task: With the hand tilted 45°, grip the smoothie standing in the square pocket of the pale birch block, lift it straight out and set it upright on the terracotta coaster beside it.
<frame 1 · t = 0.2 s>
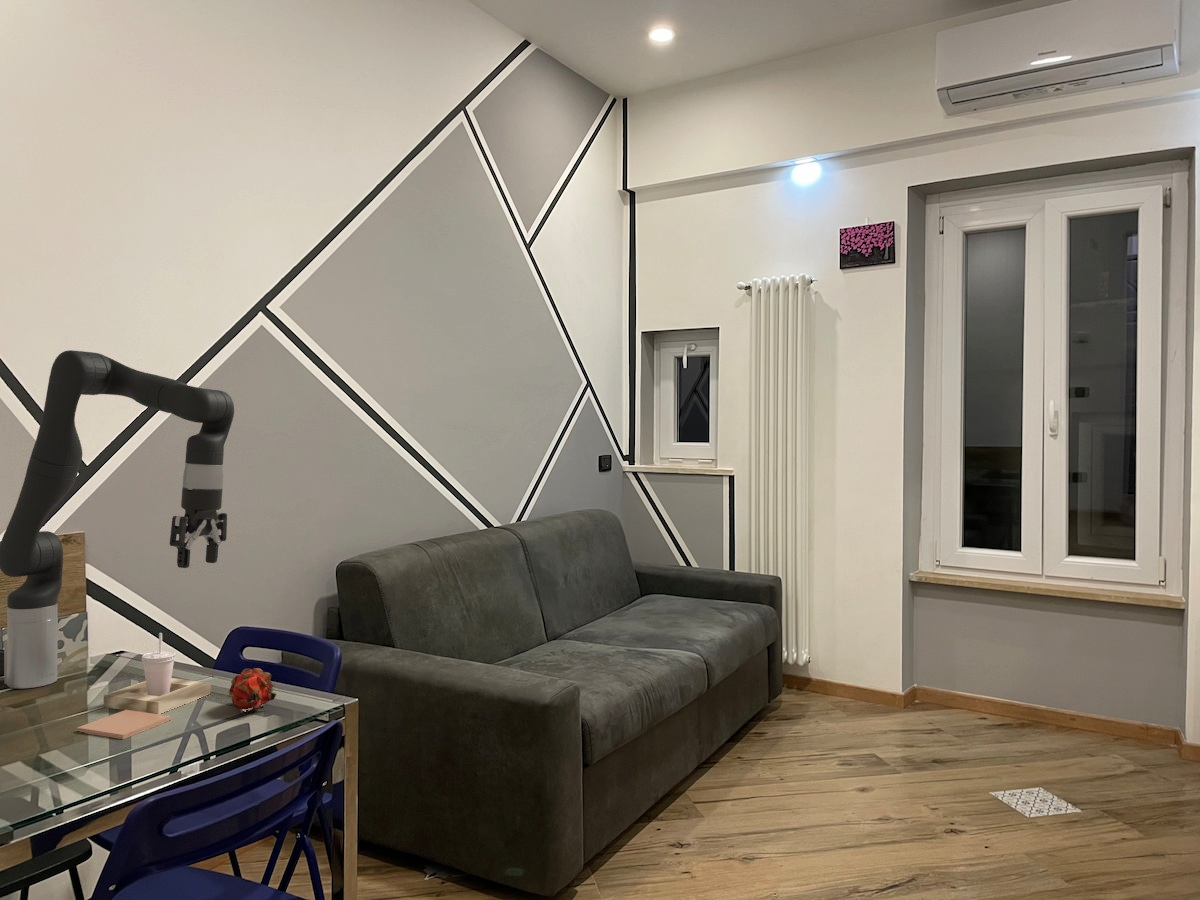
hand: (197, 565, 175), 29 cm above the table, tool pointing down, fingers open, 8 cm apart
smoothie: (158, 701, 178), resting in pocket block
coaster: (124, 725, 163), on the table
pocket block: (158, 700, 178), on the table
dragon fruit: (252, 709, 174), on the table
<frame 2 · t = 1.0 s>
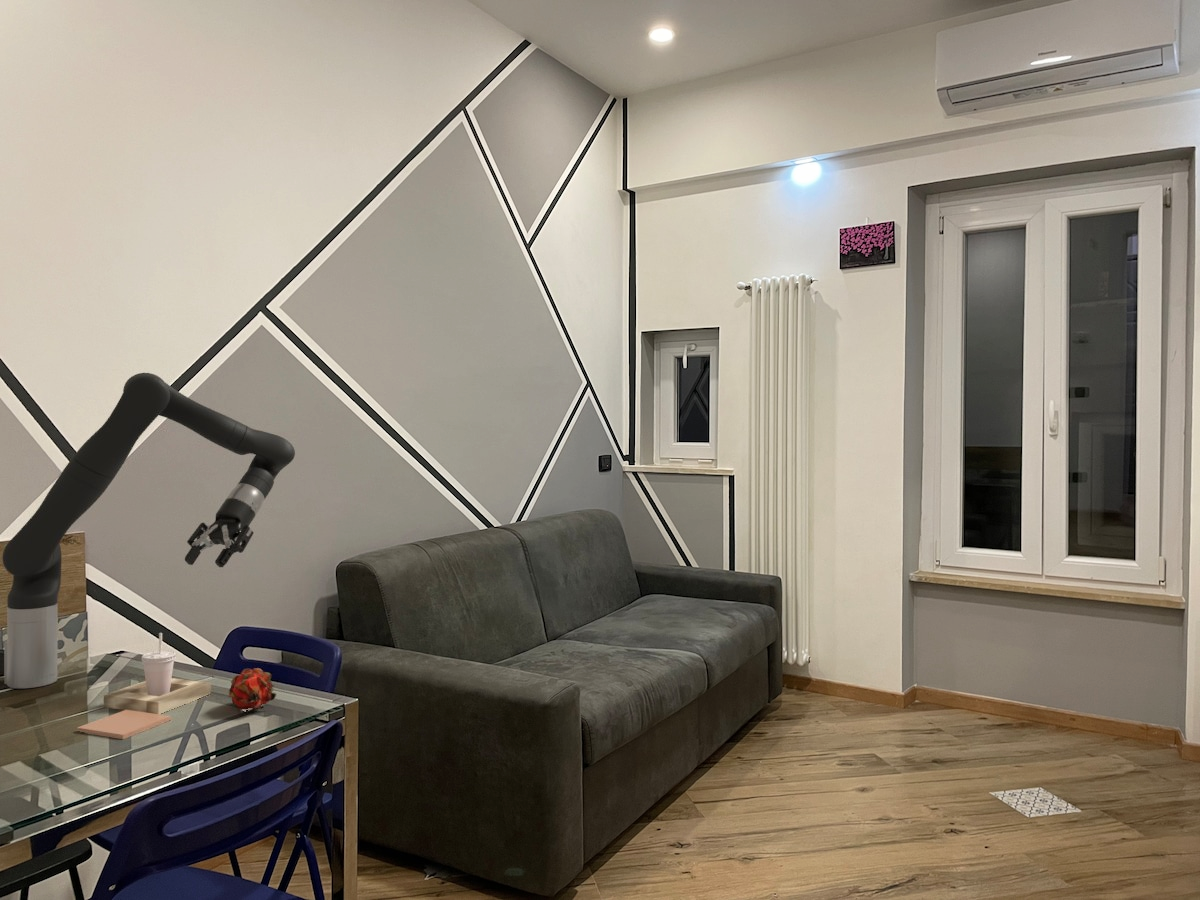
hand: (203, 564, 189), 27 cm above the table, tool tilted 45°, fingers open, 8 cm apart
nothing on the table moved.
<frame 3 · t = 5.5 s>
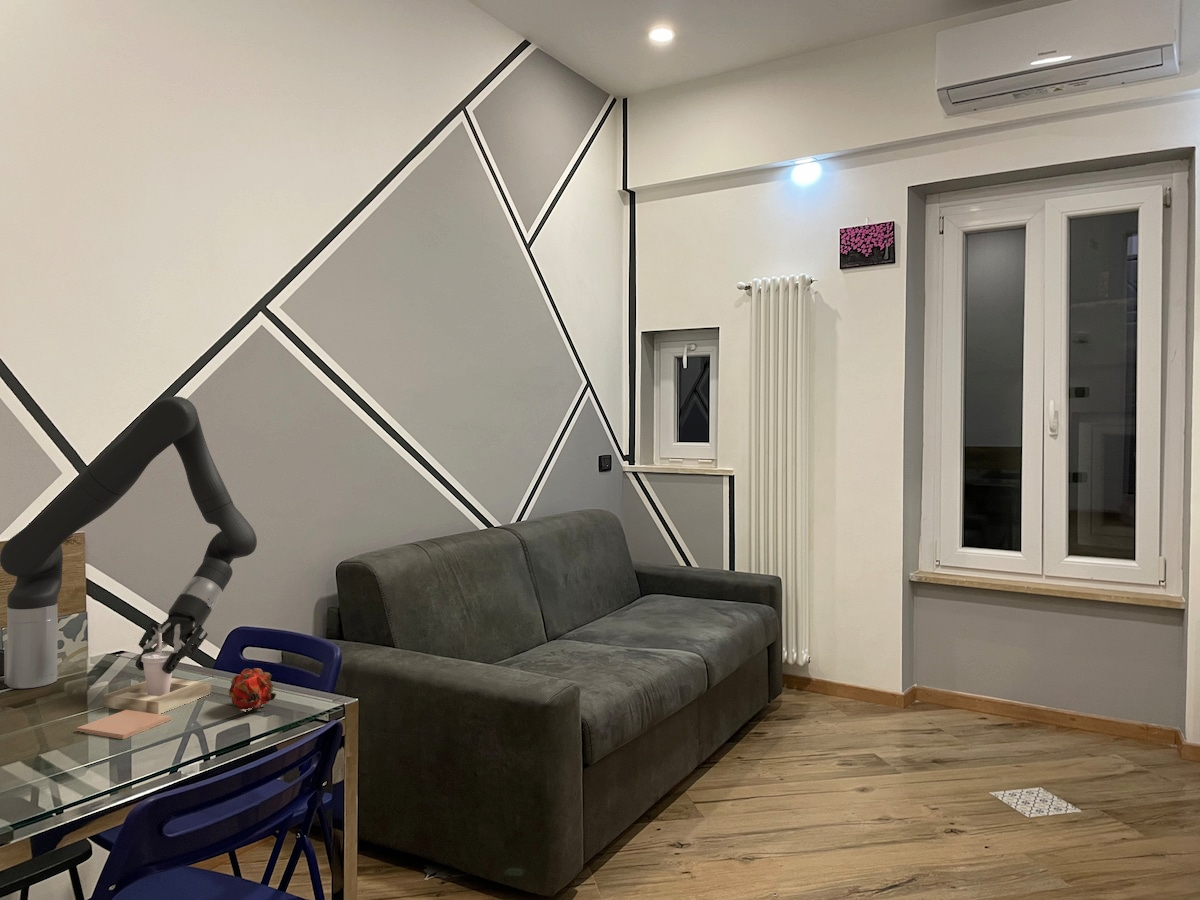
hand: (152, 669, 176), 7 cm above the table, tool tilted 45°, fingers closed on smoothie, 6 cm apart
smoothie: (158, 701, 178), resting in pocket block, touching gripper
everything else where it was.
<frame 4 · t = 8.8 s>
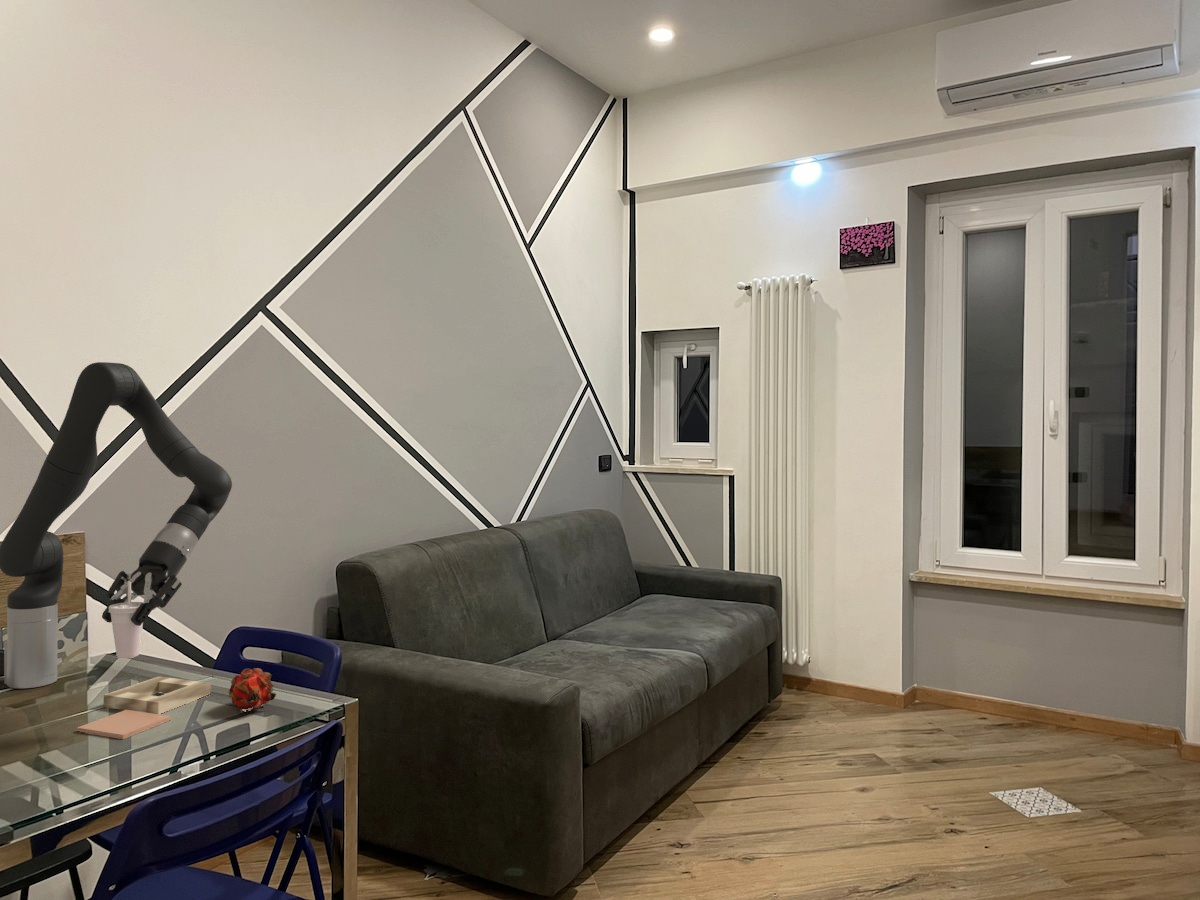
hand: (120, 621, 161), 20 cm above the table, tool tilted 45°, fingers closed on smoothie, 6 cm apart
smoothie: (127, 656, 163), point 13 cm above the table, touching gripper
everything else where it was.
when the fingers open (9 cm above the table, at t = 12.1 s): smoothie drops 1 cm, resting on coaster.
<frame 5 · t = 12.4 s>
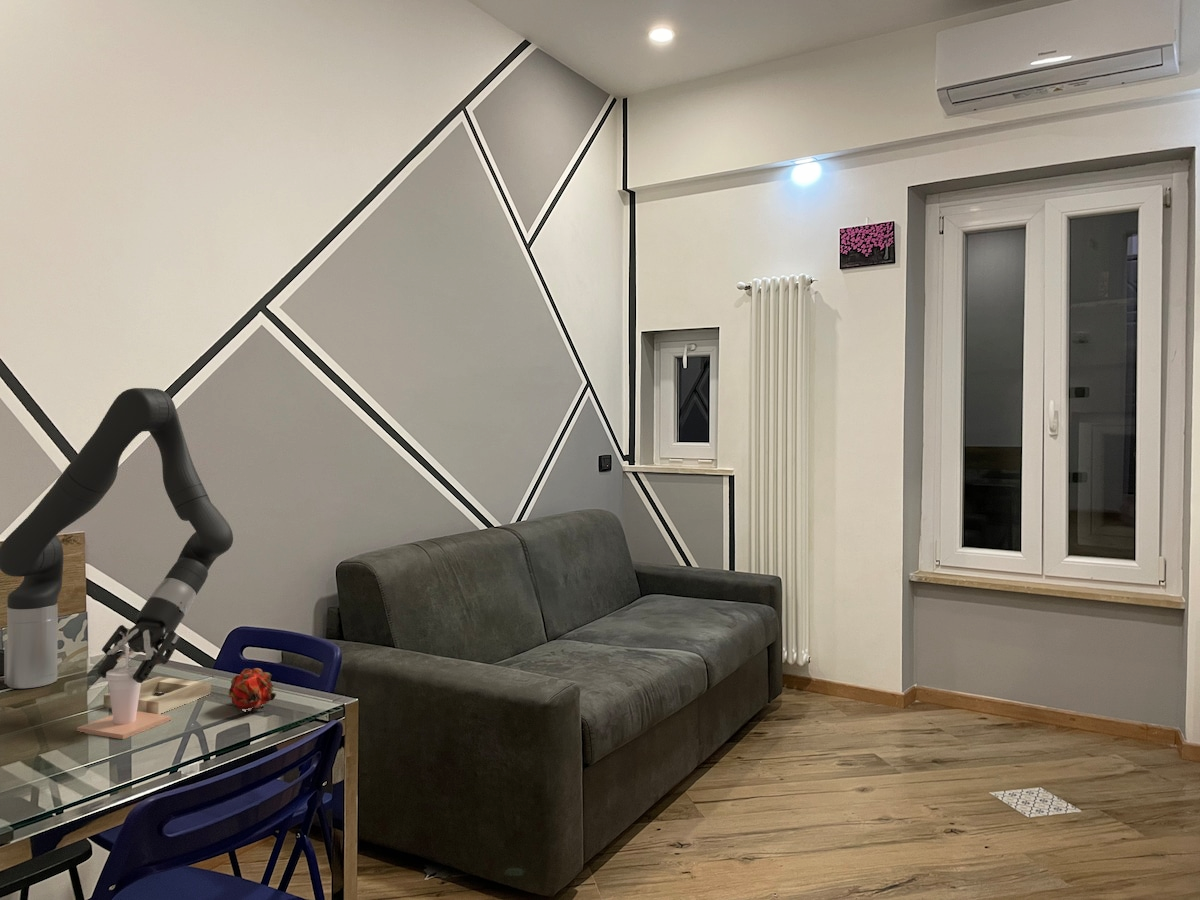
hand: (119, 678, 161), 9 cm above the table, tool tilted 45°, fingers open, 8 cm apart
smoothie: (124, 722, 163), point 1 cm above the table, touching coaster
everything else where it was.
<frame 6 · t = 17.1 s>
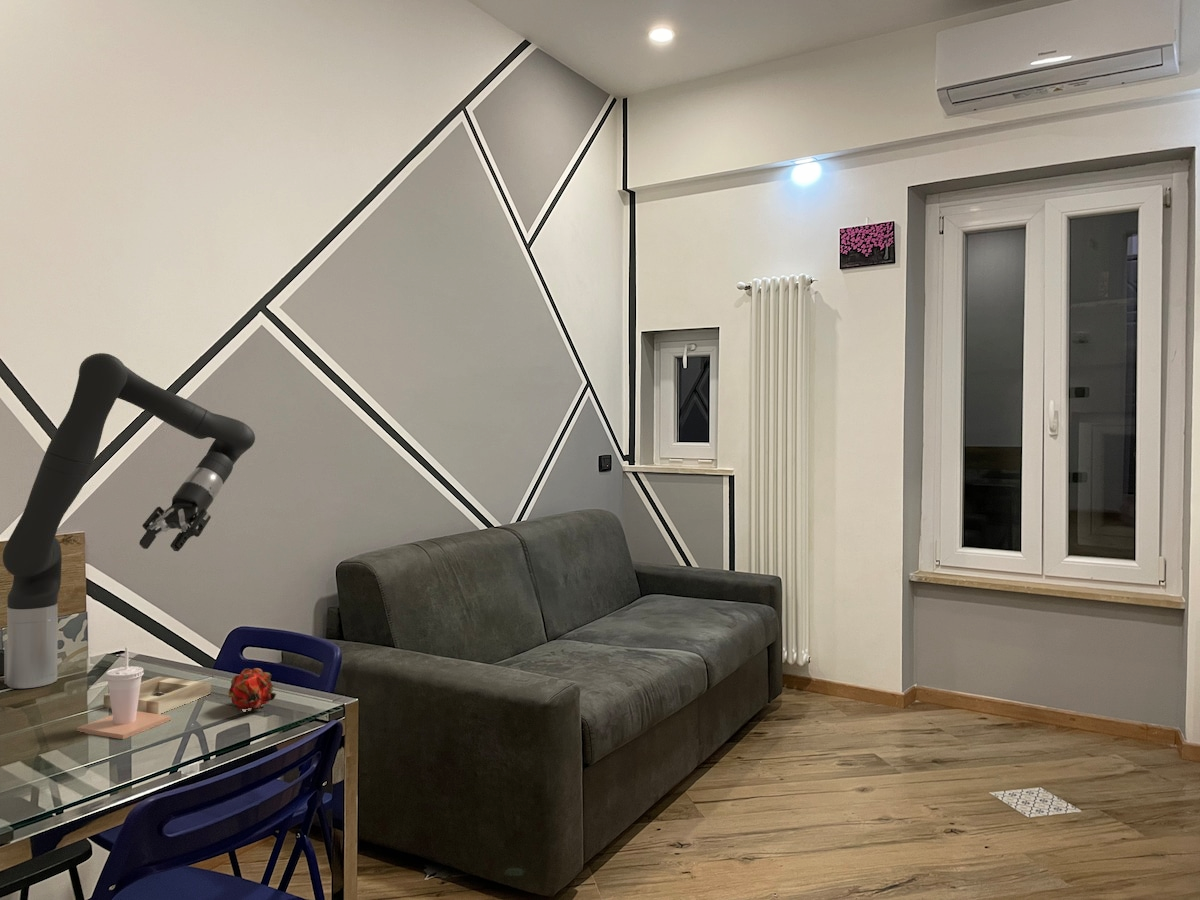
hand: (158, 547, 186), 31 cm above the table, tool tilted 45°, fingers open, 8 cm apart
nothing on the table moved.
at the end: smoothie 0.4 cm off-centre on the coaster, point 0.6 cm above the coaster's base; smoothie tilted 0°; the gripper is holding nothing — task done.
